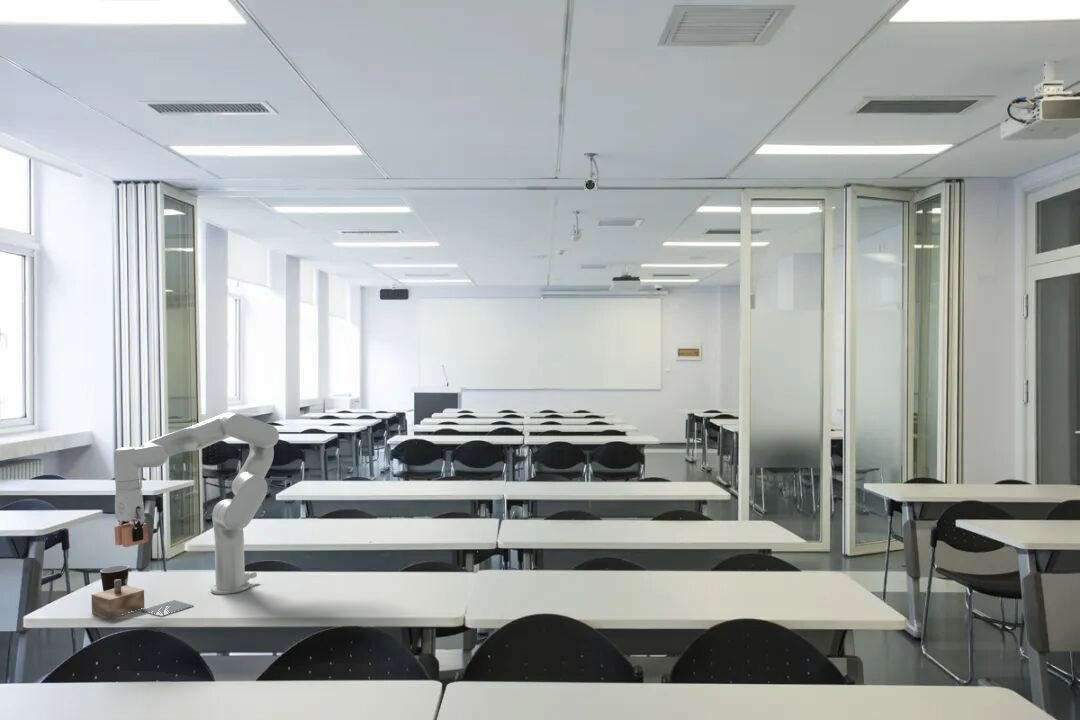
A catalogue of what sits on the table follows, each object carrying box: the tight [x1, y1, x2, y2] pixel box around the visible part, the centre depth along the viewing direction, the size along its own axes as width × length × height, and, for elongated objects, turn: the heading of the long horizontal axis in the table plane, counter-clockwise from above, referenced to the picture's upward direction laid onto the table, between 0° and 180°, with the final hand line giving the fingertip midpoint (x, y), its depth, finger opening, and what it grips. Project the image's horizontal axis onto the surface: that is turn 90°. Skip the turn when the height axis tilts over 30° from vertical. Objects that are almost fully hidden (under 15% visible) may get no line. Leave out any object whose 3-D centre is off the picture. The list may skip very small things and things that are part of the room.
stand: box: [91, 579, 145, 620], centre depth 240 cm, size 11×11×10 cm
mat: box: [141, 599, 194, 615], centre depth 240 cm, size 11×11×1 cm
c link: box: [113, 521, 149, 548], centre depth 240 cm, size 7×7×6 cm
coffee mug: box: [99, 564, 130, 592], centre depth 254 cm, size 12×9×10 cm
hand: (131, 538), depth 240 cm, fingers closed on c link, 7 cm apart
